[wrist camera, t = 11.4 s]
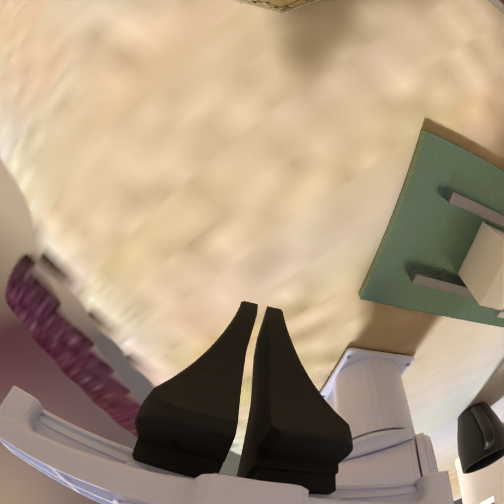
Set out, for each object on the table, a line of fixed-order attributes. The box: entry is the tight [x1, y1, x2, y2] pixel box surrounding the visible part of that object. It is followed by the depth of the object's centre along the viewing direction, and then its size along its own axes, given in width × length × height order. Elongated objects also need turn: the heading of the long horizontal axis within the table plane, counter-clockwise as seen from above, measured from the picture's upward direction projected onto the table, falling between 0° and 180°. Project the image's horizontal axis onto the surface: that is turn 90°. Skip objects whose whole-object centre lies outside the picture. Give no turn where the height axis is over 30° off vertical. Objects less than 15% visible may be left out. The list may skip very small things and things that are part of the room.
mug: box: [458, 402, 504, 474], centre depth 29 cm, size 8×12×10 cm
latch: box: [457, 221, 504, 310], centre depth 18 cm, size 5×5×5 cm
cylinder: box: [455, 456, 504, 504], centre depth 29 cm, size 17×17×28 cm
